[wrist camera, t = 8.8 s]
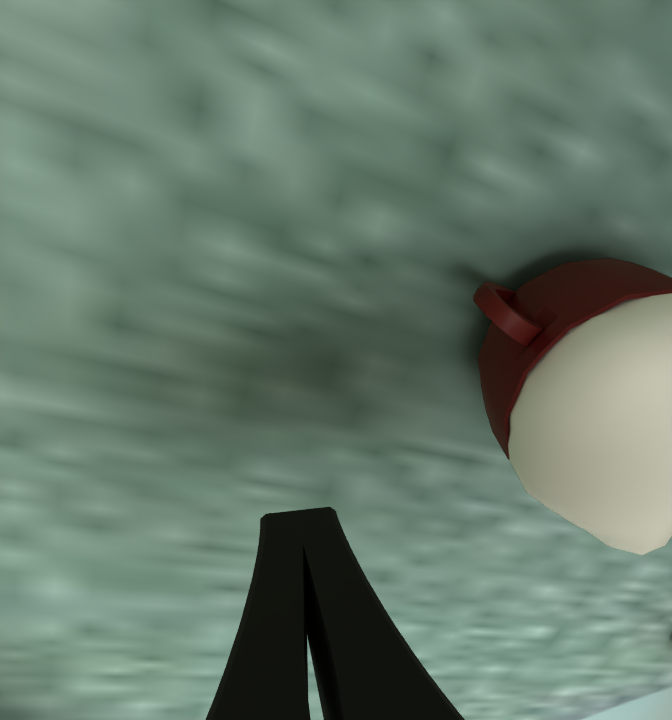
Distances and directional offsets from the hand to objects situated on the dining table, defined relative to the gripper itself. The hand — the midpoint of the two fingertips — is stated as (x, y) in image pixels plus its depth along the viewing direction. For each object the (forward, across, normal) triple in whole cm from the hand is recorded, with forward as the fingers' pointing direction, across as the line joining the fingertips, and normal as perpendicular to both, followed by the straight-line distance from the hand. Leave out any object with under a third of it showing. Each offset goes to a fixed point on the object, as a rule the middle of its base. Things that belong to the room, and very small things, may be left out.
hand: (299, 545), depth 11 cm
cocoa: (+7, -9, 0) cm, 11 cm away
